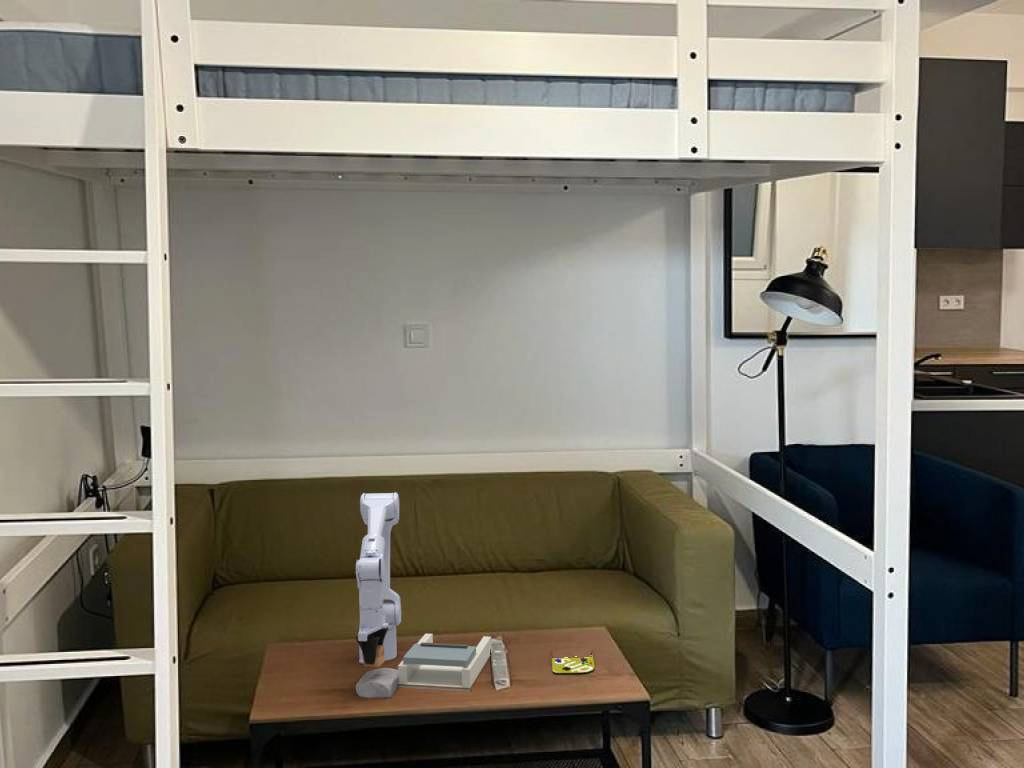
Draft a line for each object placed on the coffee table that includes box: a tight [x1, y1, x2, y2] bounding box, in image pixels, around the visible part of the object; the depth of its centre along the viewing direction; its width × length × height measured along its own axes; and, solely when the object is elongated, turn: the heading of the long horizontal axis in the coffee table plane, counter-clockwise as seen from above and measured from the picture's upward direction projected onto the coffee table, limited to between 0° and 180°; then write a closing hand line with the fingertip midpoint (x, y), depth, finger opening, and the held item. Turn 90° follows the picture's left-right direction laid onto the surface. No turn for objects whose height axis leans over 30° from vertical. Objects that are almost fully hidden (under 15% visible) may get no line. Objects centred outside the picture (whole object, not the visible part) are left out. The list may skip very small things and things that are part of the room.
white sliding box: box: [397, 633, 492, 693], centre depth 256 cm, size 18×24×6 cm
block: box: [363, 645, 385, 668], centre depth 246 cm, size 4×4×4 cm
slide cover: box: [402, 642, 477, 667], centre depth 250 cm, size 16×10×2 cm, turn 79°
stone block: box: [355, 667, 400, 699], centre depth 247 cm, size 12×5×10 cm
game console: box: [551, 655, 596, 676], centre depth 262 cm, size 18×11×2 cm, turn 0°
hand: (373, 660), depth 246 cm, fingers closed on block, 4 cm apart
